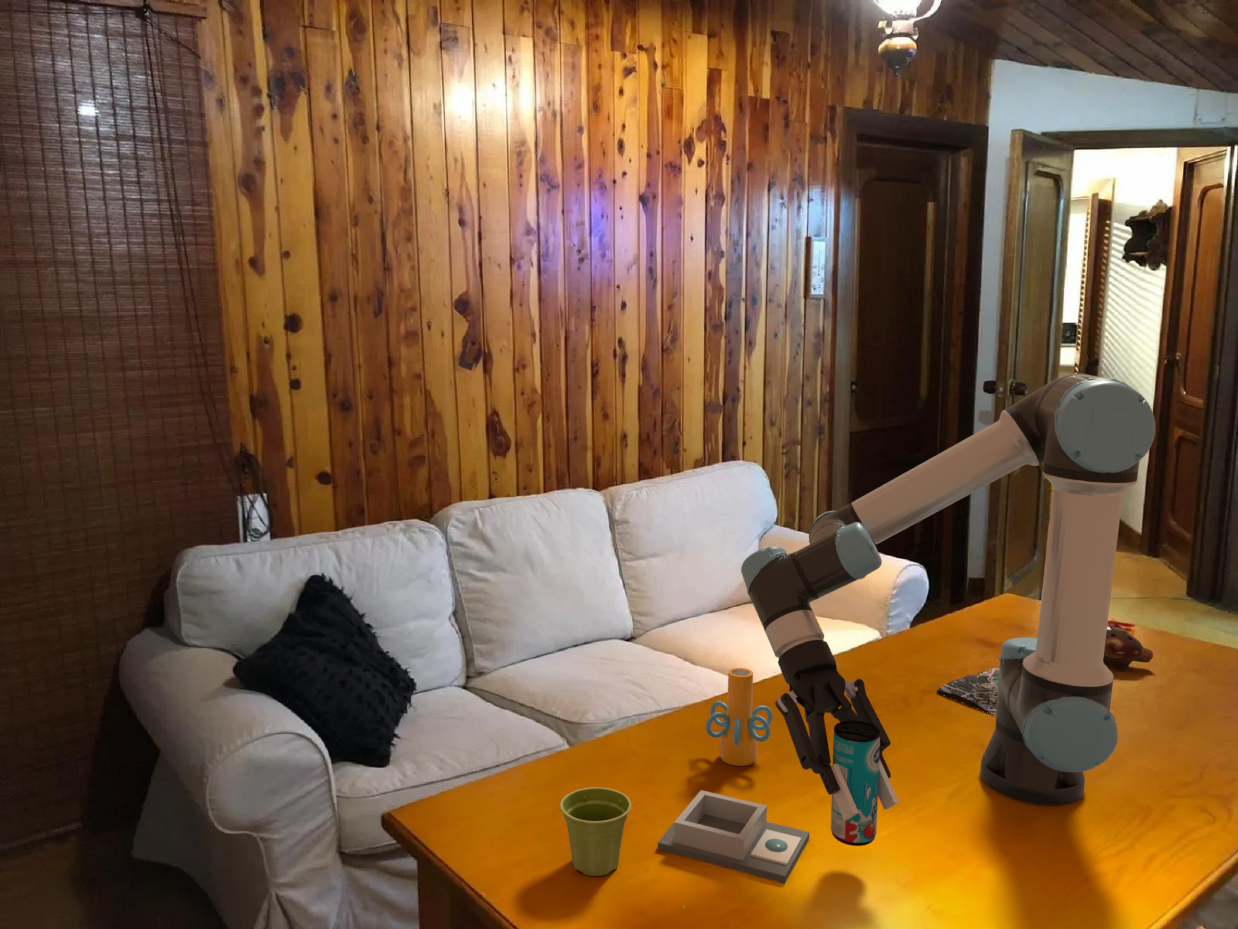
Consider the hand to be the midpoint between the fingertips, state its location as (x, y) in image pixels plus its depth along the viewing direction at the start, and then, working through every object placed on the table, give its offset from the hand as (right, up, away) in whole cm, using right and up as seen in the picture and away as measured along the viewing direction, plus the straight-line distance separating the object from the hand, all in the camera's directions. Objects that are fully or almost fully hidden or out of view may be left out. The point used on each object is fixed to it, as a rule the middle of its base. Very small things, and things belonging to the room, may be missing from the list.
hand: (871, 811), depth 125 cm
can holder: (-17, -8, +10) cm, 21 cm away
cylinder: (-13, -4, +36) cm, 38 cm away
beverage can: (-1, -5, +4) cm, 7 cm away
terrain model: (+42, -1, +63) cm, 76 cm away
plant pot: (-36, -9, +5) cm, 37 cm away
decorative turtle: (+71, +2, +79) cm, 106 cm away
